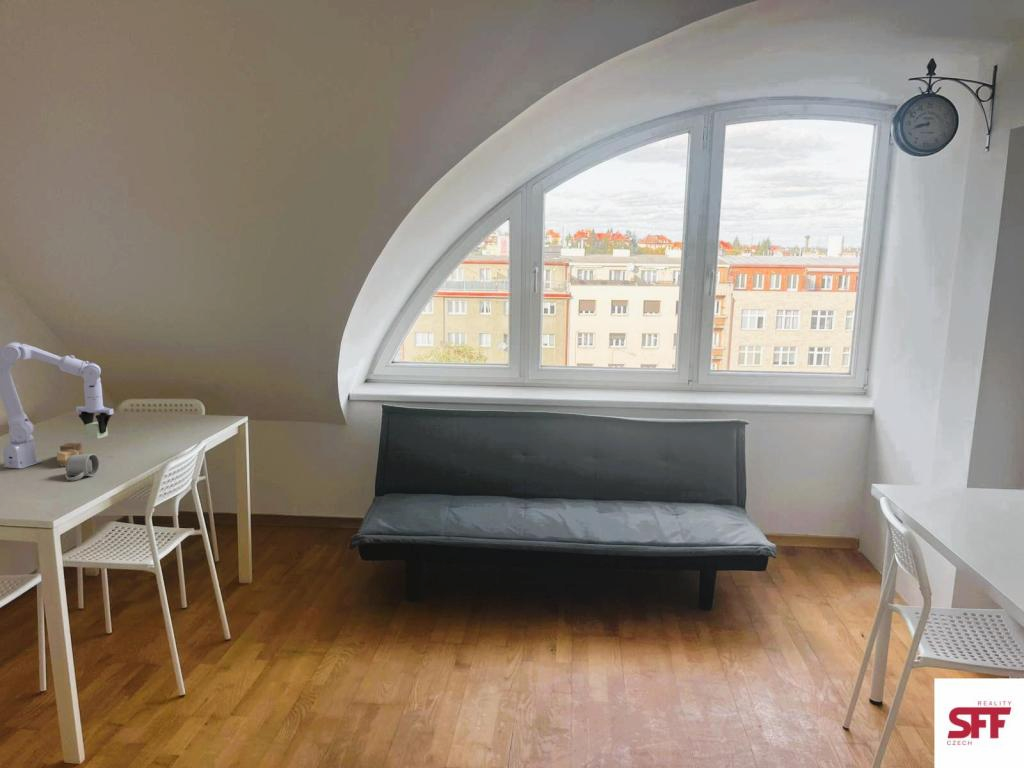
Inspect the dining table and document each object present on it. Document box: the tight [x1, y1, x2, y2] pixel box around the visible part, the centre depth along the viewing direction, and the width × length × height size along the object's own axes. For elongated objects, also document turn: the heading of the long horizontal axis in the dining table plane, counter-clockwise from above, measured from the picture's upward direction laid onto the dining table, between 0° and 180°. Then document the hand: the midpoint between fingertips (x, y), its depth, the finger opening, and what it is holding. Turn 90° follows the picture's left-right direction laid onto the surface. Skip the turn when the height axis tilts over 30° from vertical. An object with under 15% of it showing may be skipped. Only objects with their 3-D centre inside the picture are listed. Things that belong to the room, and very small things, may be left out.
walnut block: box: [59, 442, 83, 455], centre depth 279 cm, size 5×5×5 cm
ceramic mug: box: [64, 453, 100, 482], centre depth 256 cm, size 11×8×8 cm
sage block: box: [84, 421, 109, 439], centre depth 278 cm, size 5×5×5 cm
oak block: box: [56, 449, 79, 467], centre depth 270 cm, size 5×5×5 cm
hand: (96, 432), depth 278 cm, fingers closed on sage block, 5 cm apart
